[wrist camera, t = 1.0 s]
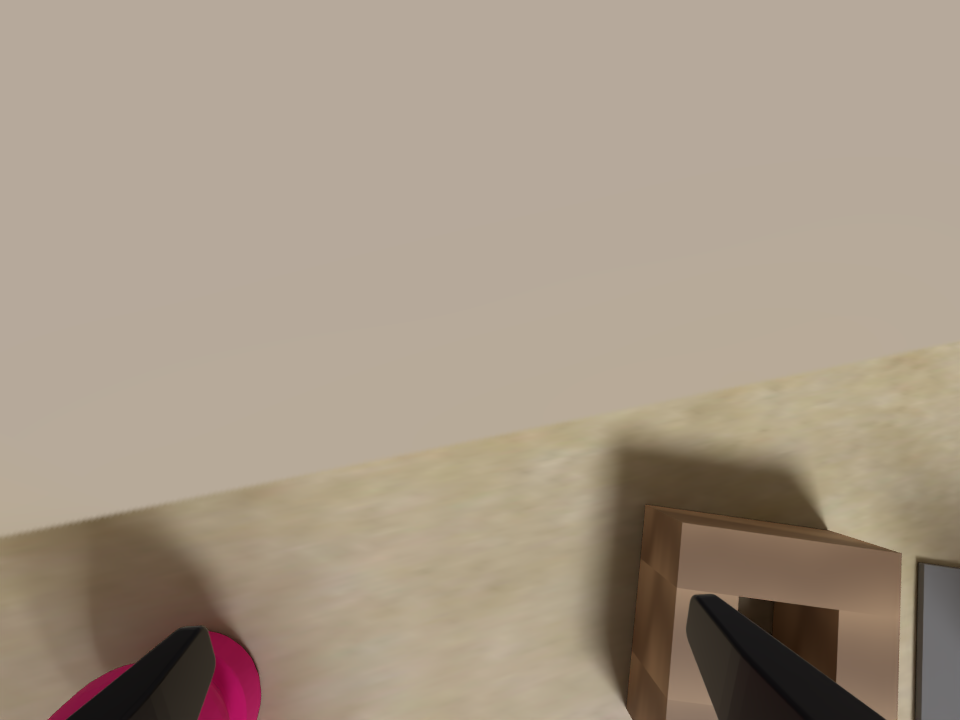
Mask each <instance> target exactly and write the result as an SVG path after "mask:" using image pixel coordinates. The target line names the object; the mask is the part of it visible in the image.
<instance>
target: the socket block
mask: <svg viewBox="0 0 960 720" xmlns="http://www.w3.org/2000/svg"><path fill="white" fill-rule="evenodd" d="M901 558H902V553H899V552H895V551H892V550H889V549H886V548H883V547H880V546H876V545H873V544H870V543H867V542H864V541H861V540H858V539H854V538H851V537H848V536H845V535H842V534H839V533H835V532H832V531H829V530H823V529H815V528H808V527H801V526H794V525H787V524H780V523H773V522H766V521H759V520H752V519H745V518H738V517H731V516H723V515H716V514H709V513H702V512H695V511H688V510H681V509H674V508H667V507H660V506H653V505H646V504H645V515H644V525H643V536H642V547H641V557H640V568H639V578H638V589H637V599H636V610H635V620H634V631H633V641H632V652H631V663H630V673H629V684H628V694H627V705H626V709H627V711H628V712H629V714H630V716H631V718H632V719H633V720H718V718H717V715H716V713H715V710H714V707H713V705H712V702H711V700H710V697H709V694H708V692H707V689H706V687H705V684H704V681H703V679H702V676H701V674H700V671H699V668H698V666H697V663H696V661H695V658H694V655H693V653H692V650H691V648H690V645H689V642H688V639H687V635H686V622H687V616H688V609H689V603H690V599H691V597H692V596H693V595H696V594H714V595H716V596H718V597H720V598H721V599H722V600H724V601H725V602H726V603H728V604H729V605H730V606H732V607H733V608H735V609H736V610H737V611H738V601H739V596H740V597H748V598H755V599H762V600H769V601H774V613H773V630H772V636H773V637H774V638H776V639H777V640H778V641H780V642H781V643H782V644H784V645H785V646H787V647H788V648H789V649H791V650H792V651H793V652H795V653H796V654H798V655H799V656H800V657H802V658H803V659H804V660H806V661H807V662H808V663H810V664H811V665H813V666H814V667H815V668H817V669H818V670H819V671H821V672H822V673H824V674H825V675H826V676H828V677H829V678H830V679H832V680H833V681H834V682H836V683H837V684H839V685H840V686H841V687H843V688H844V689H845V690H847V691H848V692H850V693H851V694H852V695H854V696H855V697H856V698H858V699H859V700H860V701H862V702H863V703H865V704H866V705H867V706H869V707H870V708H871V709H873V710H874V711H876V712H877V713H878V714H880V715H881V716H882V717H884V718H885V719H886V720H897V714H898V675H899V636H900V597H901Z"/></svg>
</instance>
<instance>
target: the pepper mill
mask: <svg viewBox="0 0 960 720" xmlns="http://www.w3.org/2000/svg"><path fill="white" fill-rule="evenodd" d="M208 632H209V636H210V639H211V643H212V647H213V651H214V654H215V659H216V664H215V671H214V674H213V677H212V680H211V683H210V686H209V689H208V692H207V694H206V697H205V700H204V703H203V706H202V709H201V712H200V714H199V717H198V720H257V716H258V712H259V708H260V702H261V688H260V680H259V675H258V672H257V670H256V667H255V665H254V662H253V660H252V658H251V657H250V656H249V655H248V653H247V652H246V651H245V650H244V649H243V647H242V646H241V645H239V644H238V643H236V642H235V641H233V640H232V639H231V638H229V637H228V636H225V635H222V634H220V633H216V632H211V631H208ZM134 664H135V663H134ZM134 664H130V665H125V666H122V667H120V668H117V669H115V670H112V671H110V672H108V673H106V674H104V675H102V676H101V677H99V678H97V679H95V680H94V681H92V682H90V683H89V684H88V685H86V686H85V687H84V688H83V689H81V690H80V691H79V692H77V693H76V694H75V695H74V696H73V697H72V698H71V699H70V700H68V701H67V702H66V703H65V704H64V705H63V706H62V707H61V708H60V709H59V710H57V711H56V712H55V713H54V714H53V715H52V716H51V717H50V718H49V719H48V720H66V719H67V718H68V717H69V716H70V715H72V714H73V713H74V712H75V711H77V710H78V709H79V708H80V707H82V706H83V705H84V704H85V703H87V702H88V701H89V700H90V699H92V698H93V697H94V696H95V695H97V694H98V693H99V692H100V691H102V690H103V689H104V688H105V687H106V686H108V685H109V684H110V683H111V682H113V681H114V680H115V679H116V678H118V677H119V676H120V675H121V674H123V673H124V672H125V671H126V670H128V669H129V668H130V667H131V666H133V665H134Z"/></svg>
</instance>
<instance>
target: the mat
mask: <svg viewBox="0 0 960 720" xmlns="http://www.w3.org/2000/svg"><path fill="white" fill-rule="evenodd" d="M915 720H960V568H955V567H948V566H940V565H933V564H926V563H919V571H918V618H917V666H916V714H915Z"/></svg>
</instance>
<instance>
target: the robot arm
mask: <svg viewBox="0 0 960 720" xmlns="http://www.w3.org/2000/svg"><path fill="white" fill-rule="evenodd" d="M686 635H687V639H688V642H689V645H690V648H691V650H692V653H693V655H694V658H695V661H696V663H697V666H698V668H699V671H700V674H701V676H702V679H703V681H704V684H705V687H706V689H707V692H708V694H709V697H710V700H711V702H712V705H713V707H714V710H715V713H716V715H717V718H718V720H886V719H885V718H884V717H882V716H881V715H880V714H878V713H877V712H876V711H874V710H873V709H871V708H870V707H869V706H867V705H866V704H865V703H863V702H862V701H860V700H859V699H858V698H856V697H855V696H854V695H852V694H851V693H850V692H848V691H847V690H845V689H844V688H843V687H841V686H840V685H839V684H837V683H836V682H834V681H833V680H832V679H830V678H829V677H828V676H826V675H825V674H824V673H822V672H821V671H819V670H818V669H817V668H815V667H814V666H813V665H811V664H810V663H808V662H807V661H806V660H804V659H803V658H802V657H800V656H799V655H798V654H796V653H795V652H793V651H792V650H791V649H789V648H788V647H787V646H785V645H784V644H782V643H781V642H780V641H778V640H777V639H776V638H774V637H773V636H772V635H770V634H769V633H767V632H766V631H765V630H763V629H762V628H761V627H759V626H758V625H756V624H755V623H754V622H752V621H751V620H750V619H748V618H747V617H746V616H744V615H743V614H741V613H740V612H739V611H737V610H736V609H735V608H733V607H732V606H730V605H729V604H728V603H726V602H725V601H724V600H722V599H721V598H720V597H718V596H716V595H714V594H696V595H693V596H692V597H691V599H690V603H689V609H688V616H687V622H686ZM215 664H216V659H215V654H214V651H213V647H212V643H211V639H210V636H209V632H208V629H207V628H206V627H205V626H202V625H201V626H186V627H181V628H179V629H178V630H176V631H175V632H174V633H172V634H171V635H170V636H169V637H167V638H166V639H165V640H164V641H162V642H161V643H160V644H159V645H157V646H156V647H155V648H154V649H152V650H151V651H150V652H149V653H147V654H146V655H145V656H144V657H143V658H141V659H140V660H139V661H138V662H136V663H135V664H134V665H133V666H131V667H130V668H129V669H128V670H126V671H125V672H124V673H123V674H121V675H120V676H119V677H118V678H116V679H115V680H114V681H113V682H111V683H110V684H109V685H108V686H106V687H105V688H104V689H103V690H102V691H100V692H99V693H98V694H97V695H95V696H94V697H93V698H92V699H90V700H89V701H88V702H87V703H85V704H84V705H83V706H82V707H80V708H79V709H78V710H77V711H75V712H74V713H73V714H72V715H70V716H69V717H68V718H67V719H66V720H198V717H199V714H200V712H201V709H202V706H203V703H204V700H205V697H206V694H207V692H208V689H209V686H210V683H211V680H212V677H213V674H214V671H215Z"/></svg>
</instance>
